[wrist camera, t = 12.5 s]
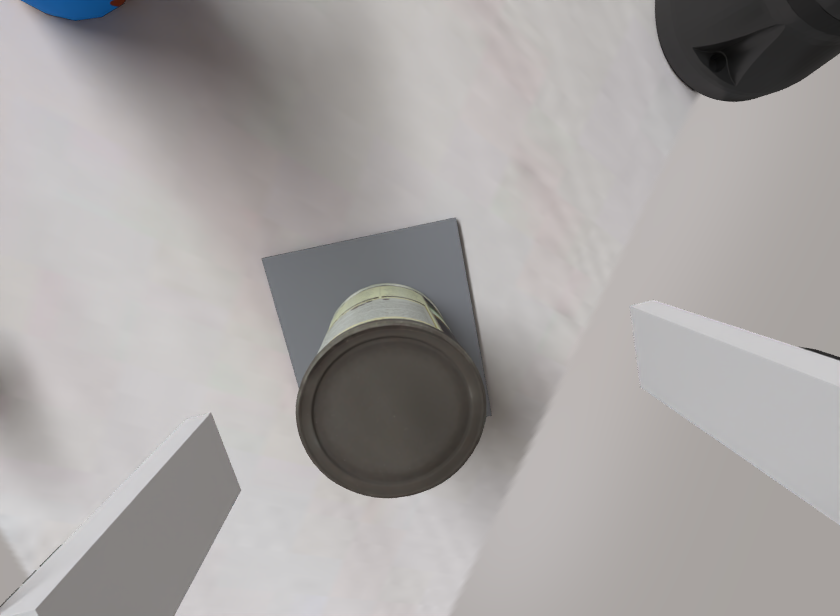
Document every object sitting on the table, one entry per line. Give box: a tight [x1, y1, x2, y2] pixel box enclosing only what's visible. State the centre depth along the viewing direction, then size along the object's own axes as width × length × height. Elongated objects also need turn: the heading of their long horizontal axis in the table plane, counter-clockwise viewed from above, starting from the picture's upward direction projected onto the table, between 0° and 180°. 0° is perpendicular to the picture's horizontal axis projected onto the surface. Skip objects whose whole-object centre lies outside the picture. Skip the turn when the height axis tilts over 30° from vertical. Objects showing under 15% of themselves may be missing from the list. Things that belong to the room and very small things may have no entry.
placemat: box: [262, 218, 492, 417], centre depth 37 cm, size 16×18×1 cm
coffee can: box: [296, 283, 486, 498], centre depth 30 cm, size 10×10×14 cm
